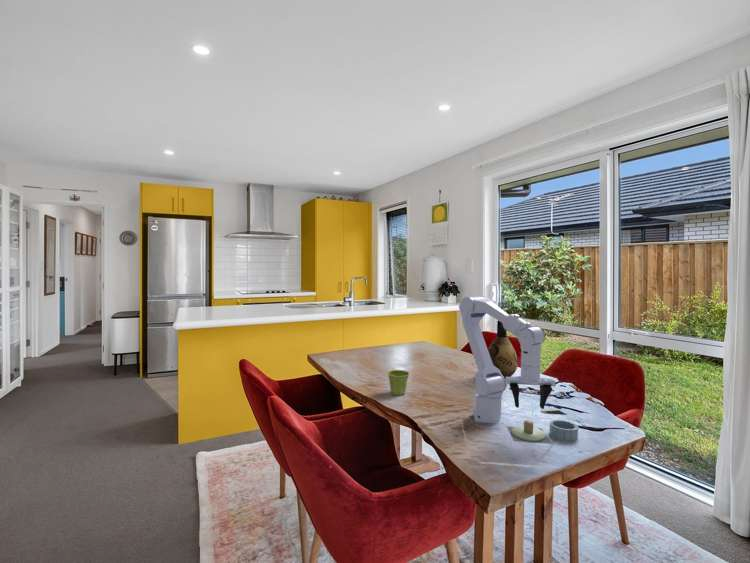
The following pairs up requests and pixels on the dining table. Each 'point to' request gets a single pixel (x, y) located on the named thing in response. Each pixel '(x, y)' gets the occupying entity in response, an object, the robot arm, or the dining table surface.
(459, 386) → the dining table surface
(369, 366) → the dining table surface
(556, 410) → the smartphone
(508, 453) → the dining table surface
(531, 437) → the lid
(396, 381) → the plant pot
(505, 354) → the ceramic jug
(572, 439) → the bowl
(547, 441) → the mat
